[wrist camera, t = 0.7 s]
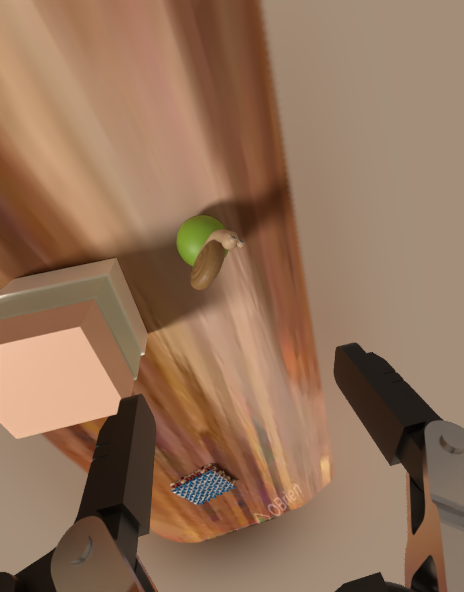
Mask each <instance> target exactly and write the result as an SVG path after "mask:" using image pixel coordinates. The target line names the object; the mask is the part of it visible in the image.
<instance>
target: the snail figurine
mask: <svg viewBox="0 0 464 592" xmlns="http://www.w3.org/2000/svg"><path fill="white" fill-rule="evenodd" d="M176 243H177V249H178V252H179V254H180V256H181V257H182V259H183V260H184V261H185V262H186V263H188V264H189V265H191V266H193V268H192V271H191V276H190V282H191V285H192V287H193V288H194V289H197V290H203V289H205V288H207V287H208V286H209V285H210V284H211V283H212V282H213V280H214V279H215V277H216V276H217V274H218V272H219V270H220V268H221V266H222V263H223V261H224V258H225V257H226V255H227V253H228V250H229V249H233V248H235V247H236V246H238V247H239V248H242V247H244V242H243V241H241V240H239V238H238V235H237V234H236V233H235V232H233V231H228V230H226V228H225V227H224V226H223V224H222V223H221V222H220V221H218V220H217V219H215V218H213V217H211V216H207V215H198V216H194V217H192V218H190V219H188V220H187V221H185V222H184V223H183V225H182V226H181V227H180V229H179V231H178V234H177V240H176Z"/></svg>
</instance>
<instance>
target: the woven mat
mask: <svg viewBox="0 0 464 592" xmlns="http://www.w3.org/2000/svg"><path fill="white" fill-rule="evenodd" d="M210 466H212V464H209V465H207V466H205V467H204V468H201V469H199V470H197V471H195V472H193V473H191V474H189V475H188V476H186V477H184V478H182V479H180V480H178V481H176V482H174V483H172V484H170V485H171V487H172V491H173V493H176V494H177V495H180V496H181V497H184V498H185V499H188V500H189V501H191V502H193V503H195V504H196V505H198V504H204V501H207V500H208V501H210V498H213V497H214V498H216V495H219V494H220V495H222V493H221V492H225V491H226V492H228V490H227V489H231V487H232V488H233V489H234V488H235V487H234V486H233V484H234V482H235V480H233V479H232V480H229V479H231V478H230V477H229V476H225V475H226V474H223V473H224V471H221V470H217V468H216V467H215V466H212V467H210ZM207 468H208V469H207ZM216 470H217V471H216ZM197 473H198V474H197ZM222 474H223V475H222ZM224 476H225V477H224ZM184 483H185V484H184ZM173 489H174V490H173Z"/></svg>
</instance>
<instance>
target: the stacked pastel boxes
mask: <svg viewBox="0 0 464 592" xmlns="http://www.w3.org/2000/svg"><path fill="white" fill-rule="evenodd" d="M147 336H148V333H147V331H146V328H145V326H144V323H143V321H142V319H141V316H140V314H139V311H138V309H137V306H136V304H135V302H134V299H133V297H132V294H131V292H130V289H129V287H128V285H127V282H126V280H125V277H124V275H123V272H122V270H121V268H120V265H119V263H118V260H117V258H113V259H108V260H103V261H98V262H93V263H89V264H84V265H79V266H74V267H69V268H64V269H60V270H55V271H50V272H45V273H40V274H35V275H31V276H26V277H21V278H16V279H13V280H12V281H11V282H9V283H8V284H7V285H6V286H5V287H3V288H2V289H1V290H0V423H1V424H2V425H3V426H4V427H5V428H6V429H7V430H8V431H9V432H10V433H11V434H12V435H13V436H14V437H15V438H16V439H19V438H22V437H27V436H30V435H35V434H39V433H43V432H47V431H51V430H55V429H59V428H63V427H67V426H70V425H74V424H78V423H82V422H86V421H90V420H94V419H98V418H102V417H106V416H110V415H114V414H117V411H118V406H119V402H120V400H121V399H122V398H126V397H130V396H131V394H132V389H133V383H134V380H135V379H137V376H138V370H139V364H140V358H141V355H145V349H146V342H147Z"/></svg>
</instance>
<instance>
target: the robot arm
mask: <svg viewBox="0 0 464 592" xmlns="http://www.w3.org/2000/svg"><path fill="white" fill-rule="evenodd" d="M334 377H335V380H336V383H337V385H338V387H339V388H340V390H341V391H342V393H343V394H344V396H345V397H346V399H347V400H348V402H349V403H350V405H351V406H352V408H353V409H354V411H355V412H356V414H357V416H358V417H359V419H360V420H361V422H362V423H363V425H364V426H365V428H366V429H367V431H368V432H369V434H370V435H371V437H372V439H373V440H374V442H375V443H376V445H377V446H378V448H379V449H380V451H381V452H382V454H383V455H384V457H385V458H386V460H387V461H388V463H389V464H390V466H392V465H395V464H399V463H402V465H403V466H404V468H405V469H406V470H407V472H406V491H407V524H408V540H407V547H406V553H405V587H404V586H402V585H399V584H395V583H392V582H385V581H384V579H383V577H382V575H381V573H380V572H379V573H375V574H373V575H369V576H366V577H363V578H360V579H357V580H354V581H350V582H347V583H345V584H343V585H342V586H341V587H340V588H338V589H337V590H336V591H335V592H464V428H462V427H461V426H459V425H457V424H454V423H451V422H448V421H444V420H443V419H441V418H440V417H439V416H438V415H437V414H436V413H435V412H434V411H433V410H432V409H431V408H430V407H429V405H428V404H427V403H426V402H425V401H424V400H423V399H422V398H421V397H420V396H419V395H418V394H417V393H416V392H415V391H414V390H413V389H412V388H411V387H410V385H409V384H408V383H406V382H405V381H404V380H403V378H402V377H401V376H400V375H399V374H398V373H396V372H395V370H394V369H393V368H392V366H390V364H389V363H388V362H387V361H386V360H385V359H383V358H381V357H380V356H378V355H376V354H374V353H373V352H370V353H366V352H365V351H364V350H363V349H362V348H361V347H360V346H359V345H358V344H357V343H350V344H347V345H342V346H338V347H336V351H335V363H334ZM155 440H156V424H155V419H154V416H153V414H152V412H151V410H150V408H149V406H148V404H147V402H146V400H145V398H144V396H143V395H142V394H138V395H134V396H130V397H126V398H122V399H121V400H120V402H119V406H118V411H117V415H113V416H109V417H108V418H107V420H106V422H105V423H104V425H103V426H102V428H101V430H100V431H99V435H98V439H97V443H96V449H95V451H94V454H93V458H92V459H93V462H91V466H90V470H89V474H88V477H87V481H86V485H85V489H84V493H83V496H82V500H81V504H80V508H79V512H78V515H77V518H76V520H75V522H74V524H73V525H72V526H71V527H70V528H69V529H68V530H67V531H66V533H65V534H64V535H63V537H62V538H61V540H60V541H59V543H58V545H57V546H56V547H55V548H54V549H53V550H52V551H50V552H49V553H48V554H46V555H45V556H43V557H42V558H40V559H39V560H37V561H36V562H34V563H32V564H31V565H29V566H28V567H26V568H25V569H23V570H22V571H20V572H19V573H18V574H16V575H14V576H13V575H11V574H9V573H6V572H0V592H158V590H157V589H156V587H155V585H154V584H153V582H152V580H151V578H150V576H149V575H148V573H147V571H146V569H145V568H144V566H143V564H142V562H141V561H140V559H139V557H138V555H137V544H138V537H139V536H143V535H146V534H149V528H150V513H151V498H152V484H153V469H154V454H155Z"/></svg>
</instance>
